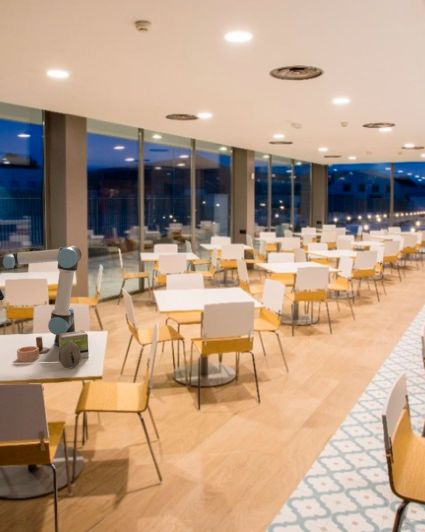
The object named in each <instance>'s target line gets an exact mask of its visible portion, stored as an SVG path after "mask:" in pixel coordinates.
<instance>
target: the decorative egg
mask: <svg viewBox="0 0 425 532" xmlns="http://www.w3.org/2000/svg"><path fill="white" fill-rule="evenodd" d="M80 358H81V354H80V350H79V347H78V346H77V345H76V344H75V343H74V342H70V341H69V342H65V343H64V344H63V345H62V346H61V348H60V351H58V359H59V362H60V364H61V365H62V367H64V368H66V369H73V368H75V367H77V366H78V365H79V363H80V362H81V359H80Z"/></svg>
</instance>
